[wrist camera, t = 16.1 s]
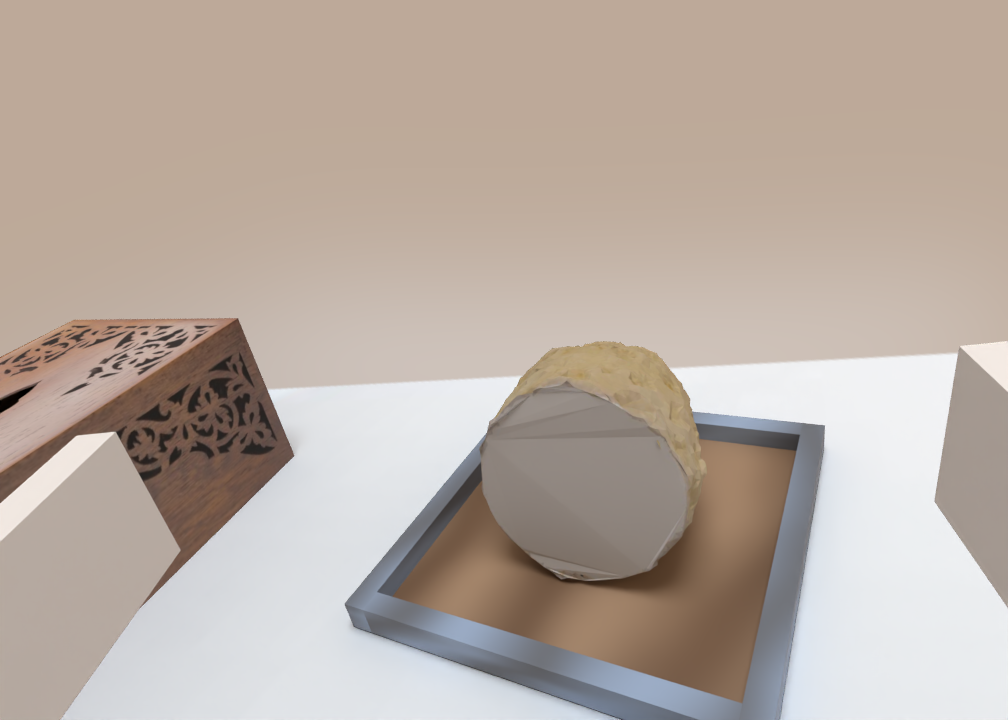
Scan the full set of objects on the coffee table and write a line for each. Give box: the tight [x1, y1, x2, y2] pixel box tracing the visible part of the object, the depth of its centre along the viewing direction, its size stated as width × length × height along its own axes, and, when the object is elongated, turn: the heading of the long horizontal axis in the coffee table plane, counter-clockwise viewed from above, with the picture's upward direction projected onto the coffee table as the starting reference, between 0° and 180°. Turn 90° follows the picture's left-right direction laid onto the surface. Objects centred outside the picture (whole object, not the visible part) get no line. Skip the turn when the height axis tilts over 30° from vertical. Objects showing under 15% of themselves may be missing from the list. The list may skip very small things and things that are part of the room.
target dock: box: [345, 412, 825, 720], centre depth 31 cm, size 17×17×1 cm
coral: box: [479, 341, 707, 581], centre depth 28 cm, size 10×10×10 cm
